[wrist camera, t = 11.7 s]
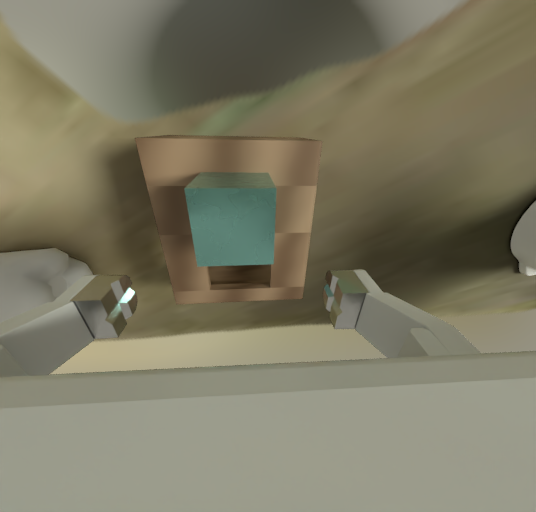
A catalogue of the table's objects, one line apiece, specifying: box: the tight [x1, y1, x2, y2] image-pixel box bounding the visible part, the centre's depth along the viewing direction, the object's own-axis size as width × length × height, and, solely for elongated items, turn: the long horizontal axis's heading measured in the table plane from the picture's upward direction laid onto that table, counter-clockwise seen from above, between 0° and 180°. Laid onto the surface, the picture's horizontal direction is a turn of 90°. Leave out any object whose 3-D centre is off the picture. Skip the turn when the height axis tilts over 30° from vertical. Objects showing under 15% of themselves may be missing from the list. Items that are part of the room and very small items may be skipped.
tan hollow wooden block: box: [135, 135, 322, 304], centre depth 24 cm, size 14×16×8 cm
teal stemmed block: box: [184, 172, 277, 267], centre depth 19 cm, size 5×5×12 cm
